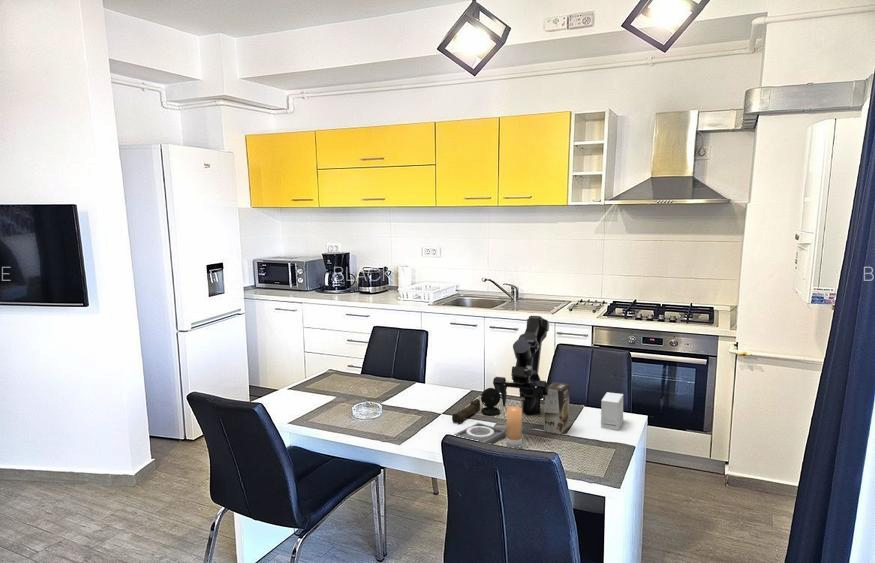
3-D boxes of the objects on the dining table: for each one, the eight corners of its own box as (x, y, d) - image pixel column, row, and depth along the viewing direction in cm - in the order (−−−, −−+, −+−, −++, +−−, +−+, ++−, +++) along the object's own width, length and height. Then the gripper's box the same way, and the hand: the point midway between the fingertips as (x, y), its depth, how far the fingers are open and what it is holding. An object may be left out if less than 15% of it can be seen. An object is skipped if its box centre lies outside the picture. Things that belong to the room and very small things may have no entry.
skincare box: (605, 418, 214) (606, 391, 213) (623, 421, 211) (624, 393, 210) (599, 427, 205) (600, 399, 203) (618, 430, 202) (619, 402, 200)
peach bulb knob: (519, 442, 192) (519, 405, 191) (523, 448, 187) (523, 410, 186) (505, 443, 192) (505, 406, 190) (508, 449, 187) (508, 411, 185)
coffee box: (560, 435, 198) (561, 390, 196) (543, 431, 202) (544, 387, 200) (569, 426, 206) (570, 383, 204) (552, 423, 209) (553, 381, 207)
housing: (478, 427, 205) (478, 421, 205) (505, 436, 198) (505, 429, 197) (454, 439, 195) (453, 432, 195) (481, 449, 187) (481, 441, 187)
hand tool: (460, 425, 209) (460, 413, 208) (451, 423, 211) (451, 411, 211) (485, 410, 224) (486, 399, 224) (477, 408, 227) (477, 397, 226)
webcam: (497, 408, 225) (497, 384, 224) (503, 415, 218) (503, 390, 217) (478, 410, 224) (478, 385, 223) (483, 416, 217) (483, 391, 215)
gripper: (494, 354, 199) (486, 394, 190) (547, 358, 193) (542, 399, 184) (499, 370, 207) (491, 409, 198) (550, 374, 201) (545, 415, 192)
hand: (517, 407), depth 193 cm, fingers open, 9 cm apart
